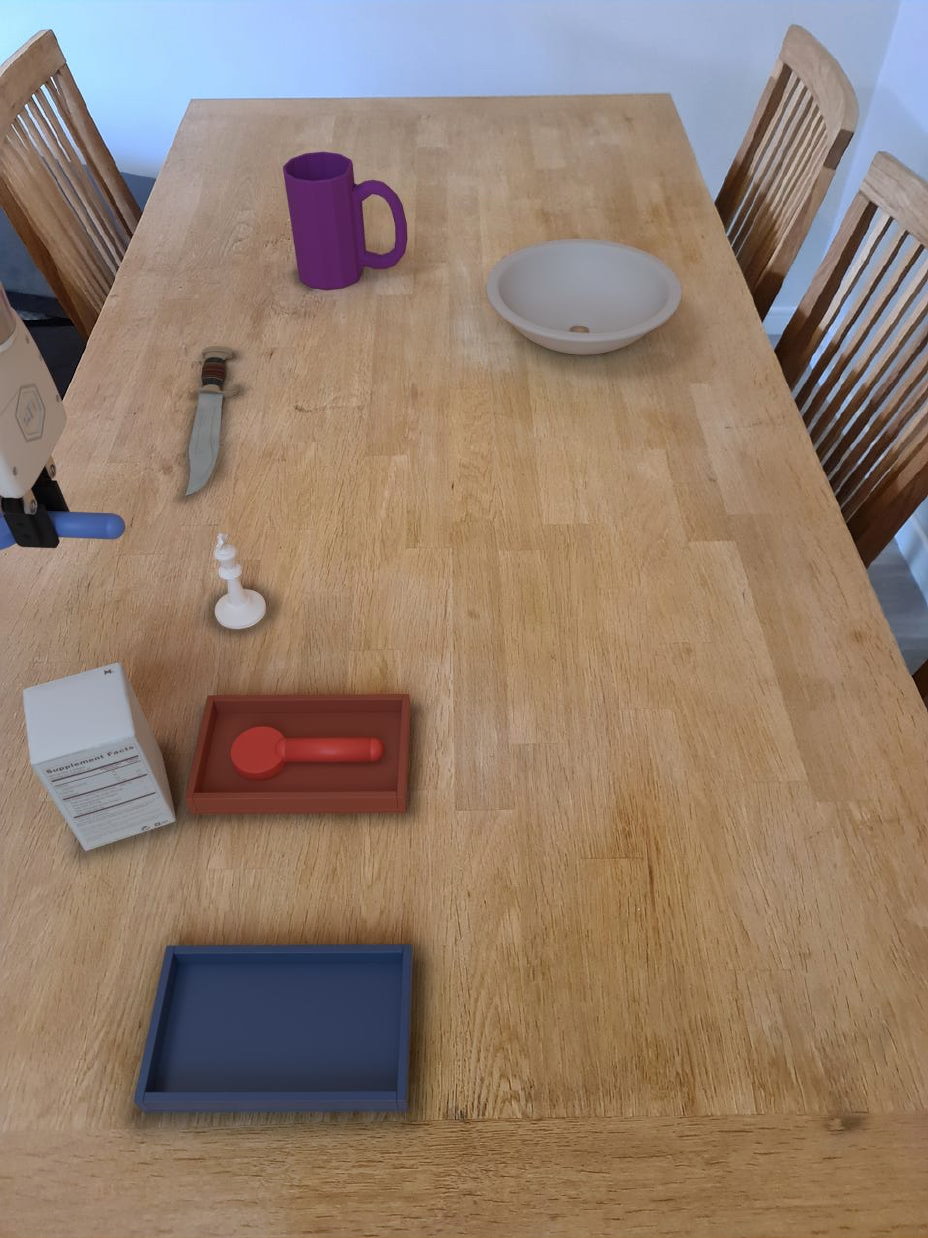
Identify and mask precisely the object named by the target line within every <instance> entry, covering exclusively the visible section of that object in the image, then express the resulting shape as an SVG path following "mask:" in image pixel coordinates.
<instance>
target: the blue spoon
mask: <svg viewBox="0 0 928 1238" xmlns="http://www.w3.org/2000/svg"><path fill="white" fill-rule="evenodd" d="M47 513H48V515H49V517H50V519H51V522H52V524H53V526H54V529H55V531H56V533H57V536H58V538H64V539H65V538H67V539H88V540H89V539H91V540H116V539H119V538H121V537H122V536H123V535H124V534H125V532H126V522H125V519H123V517H121V516H120V515H119V514H117V513H114V512H94V511H93V512H91V511H90V512H89V511H70V512H65V511H47ZM15 544H16V545H17V543H16V542H15V539H14V537H13V535H12V533H11V531H10V529H9V527H8V525H7V523H6V521H5V519H4V517H2V518H0V551H2V550H6V549H8V548H11V547H12V546H14V545H15Z"/></svg>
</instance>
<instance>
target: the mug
mask: <svg viewBox="0 0 928 1238" xmlns="http://www.w3.org/2000/svg"><path fill="white" fill-rule="evenodd" d="M282 172H283V179H284V185H285V192H286V199H287V206H288V213H289V218H290V219H289V220H290V226H291V233H292V240H293V247H294V253H295V260H296V267H297V273H298V279H299V281H300V282H302V283H303V284H304V285H306V286H307V287H309V288H311V289H317V290H323V291H331V290H332V291H333V290H341V289H344V288H347V287H349V286H352V285H353V284H357V283H358V282H359V280H360V279H361V276H362V272H363V269H365V268H370V269H372V270H386V269H389V268H392V267H395V266H397V264H398V263H399V262H400V260H401V259H402V258H403V257H404V255H405V254H406V252H407V251H406V250H407V246H408V245H407V244H408V239H409V238H408V222H407V219H406V218H407V217H406V214H405V209H404V204H403V202H402V201H401V199H400V197H399V195H398V194H397V193H396V192H395V191H394V190H393V189H392V188H391V186H389V185H388V184H387V183H385V182H384V181H381V180H376V179H370V180H369V179H368V180H364V181H362V182H360V183H358V184H357V183H356V181H355V173H354V164H353V160H352V159H351V158H349V157H348V156H345V155H343V154H341V153H337V152H331V151H330V152H329V151H315V152H314V151H313V152H306V153H302V154H300V155H297V156H294V157H291V158H289V160H288V161H287V162H286V163H285V164H284V165H283V166H282ZM372 195H374V196H375V195H376V196H379V197H381V198H383V199H384V200H385V202H386V203H387V204H388V206H389V208H390V211H391V214H392V218H393V223H394V238H395V239H394V240H395V241H394V245H393V248H391V250H390V251H388V252H385V253H382V254H381V253H378V252H373V251H368V250H367V246H366V233H365V232H366V231H365V220H364V219H365V218H364V208H363V202H364V201H365V200H366V199H368V198H369V197H370V196H372Z"/></svg>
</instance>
